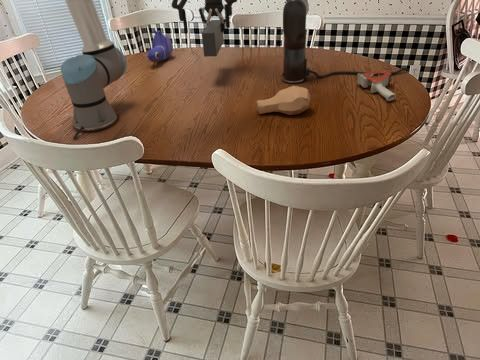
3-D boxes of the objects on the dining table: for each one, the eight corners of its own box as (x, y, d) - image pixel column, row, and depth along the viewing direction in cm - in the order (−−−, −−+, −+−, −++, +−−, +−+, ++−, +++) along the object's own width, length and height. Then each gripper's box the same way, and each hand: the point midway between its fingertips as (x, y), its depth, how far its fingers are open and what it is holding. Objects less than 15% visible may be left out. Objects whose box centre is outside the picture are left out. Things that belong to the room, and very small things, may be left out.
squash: (314, 116, 128) (313, 95, 122) (259, 125, 130) (256, 105, 124) (308, 99, 136) (307, 78, 129) (257, 108, 138) (253, 88, 131)
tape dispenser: (391, 107, 134) (404, 85, 146) (394, 94, 130) (407, 73, 143) (345, 96, 141) (361, 77, 154) (348, 84, 138) (364, 65, 150)
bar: (216, 56, 149) (214, 32, 143) (204, 56, 149) (201, 33, 144) (224, 40, 167) (222, 19, 162) (212, 41, 168) (211, 19, 162)
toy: (161, 62, 200) (141, 68, 178) (157, 30, 193) (135, 32, 171) (177, 61, 198) (159, 67, 176) (173, 29, 191) (154, 30, 169)
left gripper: (238, -53, 107) (241, 22, 119) (154, -47, 102) (167, 31, 115) (244, -52, 101) (247, 27, 113) (156, -45, 96) (169, 36, 109)
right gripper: (230, -12, 154) (232, 29, 164) (198, -11, 156) (202, 30, 166) (228, -9, 148) (230, 34, 158) (194, -8, 150) (199, 34, 160)
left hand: (207, 29), depth 114 cm, fingers open, 13 cm apart
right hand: (216, 32), depth 162 cm, fingers closed on bar, 5 cm apart
